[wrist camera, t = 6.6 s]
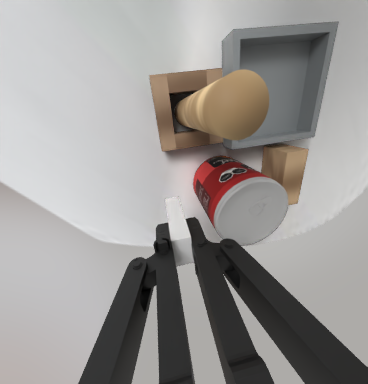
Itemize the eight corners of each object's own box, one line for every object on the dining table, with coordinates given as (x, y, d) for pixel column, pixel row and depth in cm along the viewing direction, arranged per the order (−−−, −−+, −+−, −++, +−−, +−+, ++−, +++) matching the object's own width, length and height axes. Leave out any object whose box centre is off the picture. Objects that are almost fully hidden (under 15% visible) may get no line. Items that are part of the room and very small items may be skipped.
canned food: (248, 167, 27) (304, 197, 17) (221, 207, 29) (256, 254, 19) (209, 144, 24) (248, 164, 14) (183, 190, 27) (201, 234, 17)
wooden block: (263, 146, 26) (287, 152, 21) (281, 143, 26) (308, 149, 22) (259, 193, 29) (279, 206, 25) (275, 190, 29) (297, 203, 25)
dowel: (172, 100, 21) (208, 73, 8) (197, 97, 21) (272, 66, 8) (176, 127, 22) (211, 144, 9) (199, 124, 23) (266, 136, 9)
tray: (222, 41, 20) (233, 29, 17) (314, 33, 21) (338, 21, 18) (223, 146, 25) (232, 149, 22) (297, 134, 26) (314, 136, 23)
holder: (149, 79, 20) (149, 75, 18) (214, 73, 21) (222, 67, 18) (161, 148, 23) (162, 151, 21) (216, 139, 24) (223, 142, 22)
